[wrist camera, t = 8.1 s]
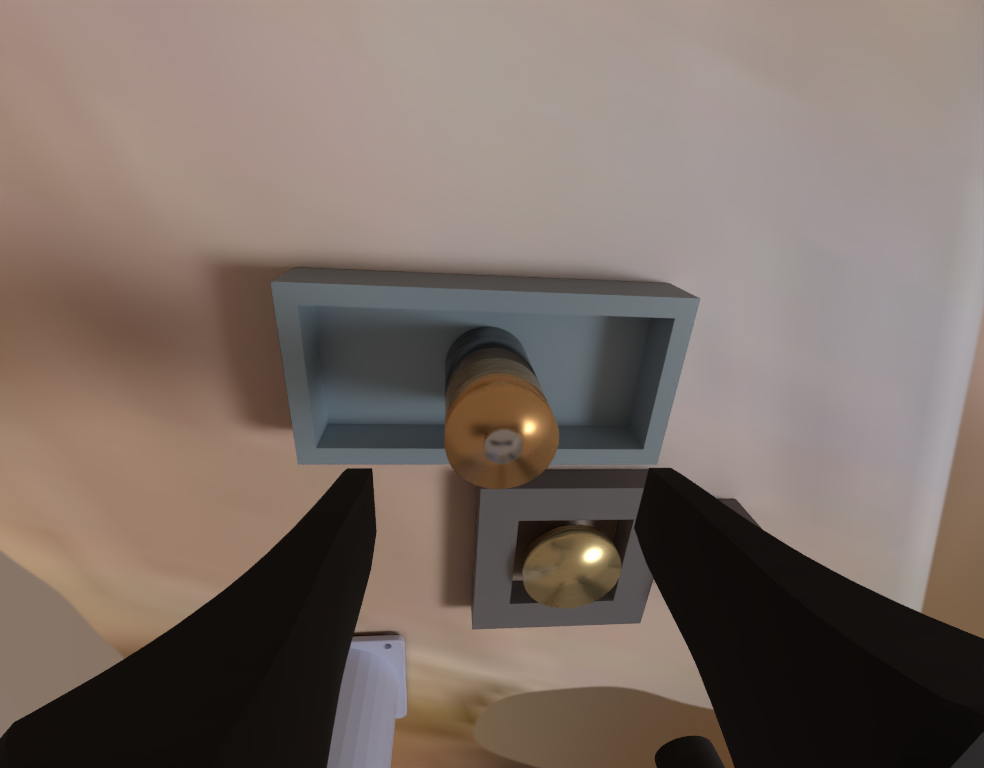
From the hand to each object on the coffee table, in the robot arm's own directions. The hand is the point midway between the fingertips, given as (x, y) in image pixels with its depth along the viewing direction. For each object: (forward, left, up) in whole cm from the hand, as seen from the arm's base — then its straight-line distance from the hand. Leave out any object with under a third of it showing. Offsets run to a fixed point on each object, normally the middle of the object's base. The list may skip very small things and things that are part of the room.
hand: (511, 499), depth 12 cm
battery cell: (0, 0, -9) cm, 9 cm away
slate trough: (0, 0, -9) cm, 9 cm away
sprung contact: (+5, -11, -8) cm, 14 cm away
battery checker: (+7, -11, -9) cm, 16 cm away
